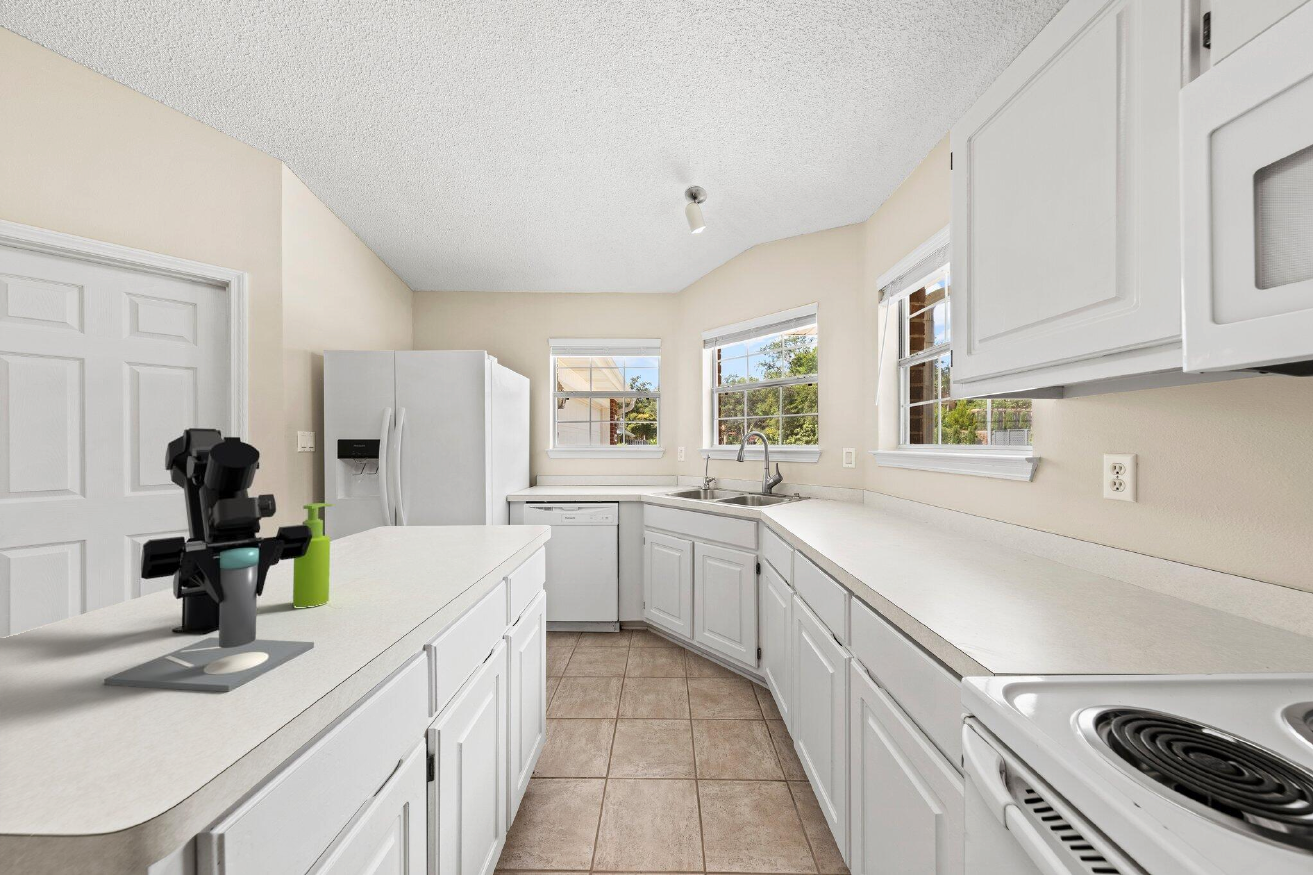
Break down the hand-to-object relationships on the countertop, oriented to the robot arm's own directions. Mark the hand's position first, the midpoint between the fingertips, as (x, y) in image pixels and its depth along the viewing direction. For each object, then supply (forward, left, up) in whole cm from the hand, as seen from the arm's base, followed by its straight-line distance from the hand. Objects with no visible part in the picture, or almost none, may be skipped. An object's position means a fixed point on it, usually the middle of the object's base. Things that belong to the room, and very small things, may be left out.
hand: (240, 597), depth 69 cm
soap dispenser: (-13, +29, -11) cm, 33 cm away
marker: (-1, +1, -7) cm, 7 cm away
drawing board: (-5, +2, -10) cm, 12 cm away
